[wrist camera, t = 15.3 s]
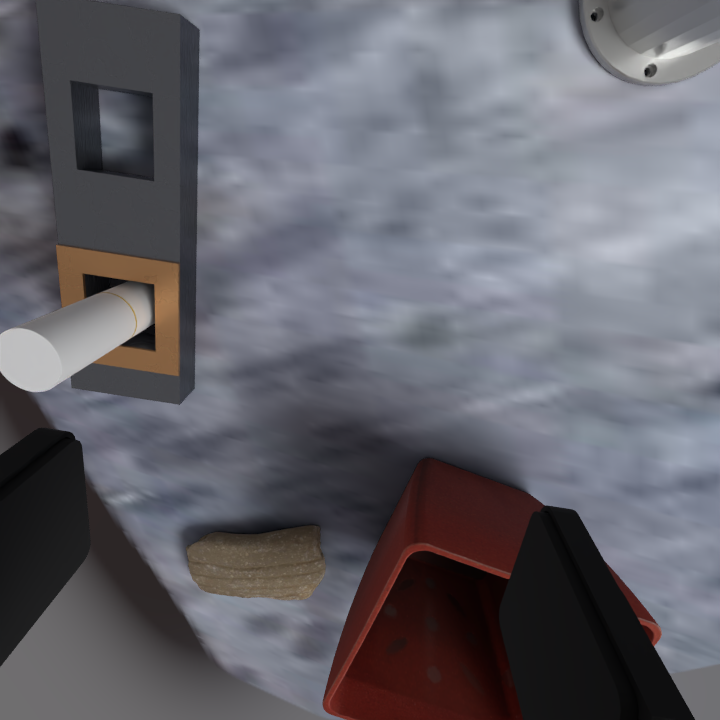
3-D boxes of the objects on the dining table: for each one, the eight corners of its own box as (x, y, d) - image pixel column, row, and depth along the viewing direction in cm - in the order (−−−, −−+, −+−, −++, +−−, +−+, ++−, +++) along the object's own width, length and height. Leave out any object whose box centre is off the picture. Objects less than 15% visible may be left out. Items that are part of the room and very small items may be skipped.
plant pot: (338, 555, 53) (317, 715, 37) (403, 416, 46) (410, 540, 30) (492, 607, 55) (534, 781, 39) (577, 480, 48) (670, 629, 32)
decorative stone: (187, 524, 53) (174, 547, 50) (323, 518, 52) (319, 541, 48) (206, 590, 57) (195, 616, 53) (334, 586, 55) (331, 612, 52)
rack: (67, 9, 35) (31, -10, 32) (199, 29, 35) (178, 13, 32) (94, 373, 46) (69, 389, 43) (194, 388, 46) (178, 406, 43)
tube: (154, 272, 42) (39, 320, 28) (174, 316, 44) (74, 383, 30) (113, 285, 43) (-20, 338, 29) (133, 328, 44) (16, 398, 30)
